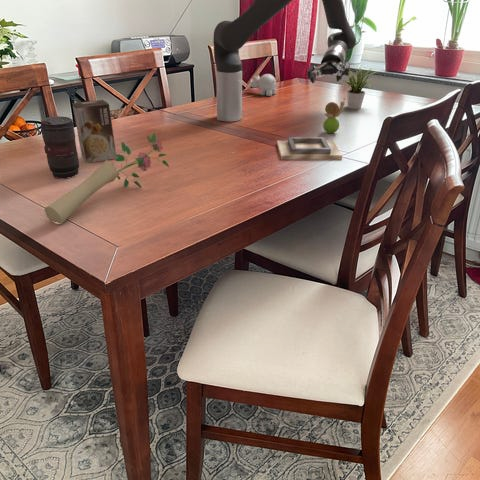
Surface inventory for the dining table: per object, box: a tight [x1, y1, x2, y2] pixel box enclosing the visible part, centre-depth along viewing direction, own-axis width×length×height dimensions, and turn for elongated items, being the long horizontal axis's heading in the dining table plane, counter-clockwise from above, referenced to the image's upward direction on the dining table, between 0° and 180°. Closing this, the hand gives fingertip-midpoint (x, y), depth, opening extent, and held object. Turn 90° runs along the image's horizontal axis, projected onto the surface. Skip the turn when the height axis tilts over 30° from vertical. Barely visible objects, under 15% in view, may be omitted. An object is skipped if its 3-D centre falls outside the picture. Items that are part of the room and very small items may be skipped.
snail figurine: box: [322, 97, 346, 134], centre depth 164 cm, size 5×6×12 cm
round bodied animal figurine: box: [250, 73, 277, 97], centre depth 215 cm, size 8×12×9 cm, turn 54°
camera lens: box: [40, 115, 80, 179], centre depth 129 cm, size 8×8×15 cm
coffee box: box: [71, 99, 117, 164], centre depth 140 cm, size 9×6×16 cm
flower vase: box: [44, 132, 170, 225], centre depth 118 cm, size 12×12×35 cm
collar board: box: [276, 136, 343, 160], centre depth 150 cm, size 18×14×3 cm
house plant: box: [343, 65, 378, 110], centre depth 193 cm, size 14×14×16 cm
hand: (324, 79), depth 164 cm, fingers open, 8 cm apart
